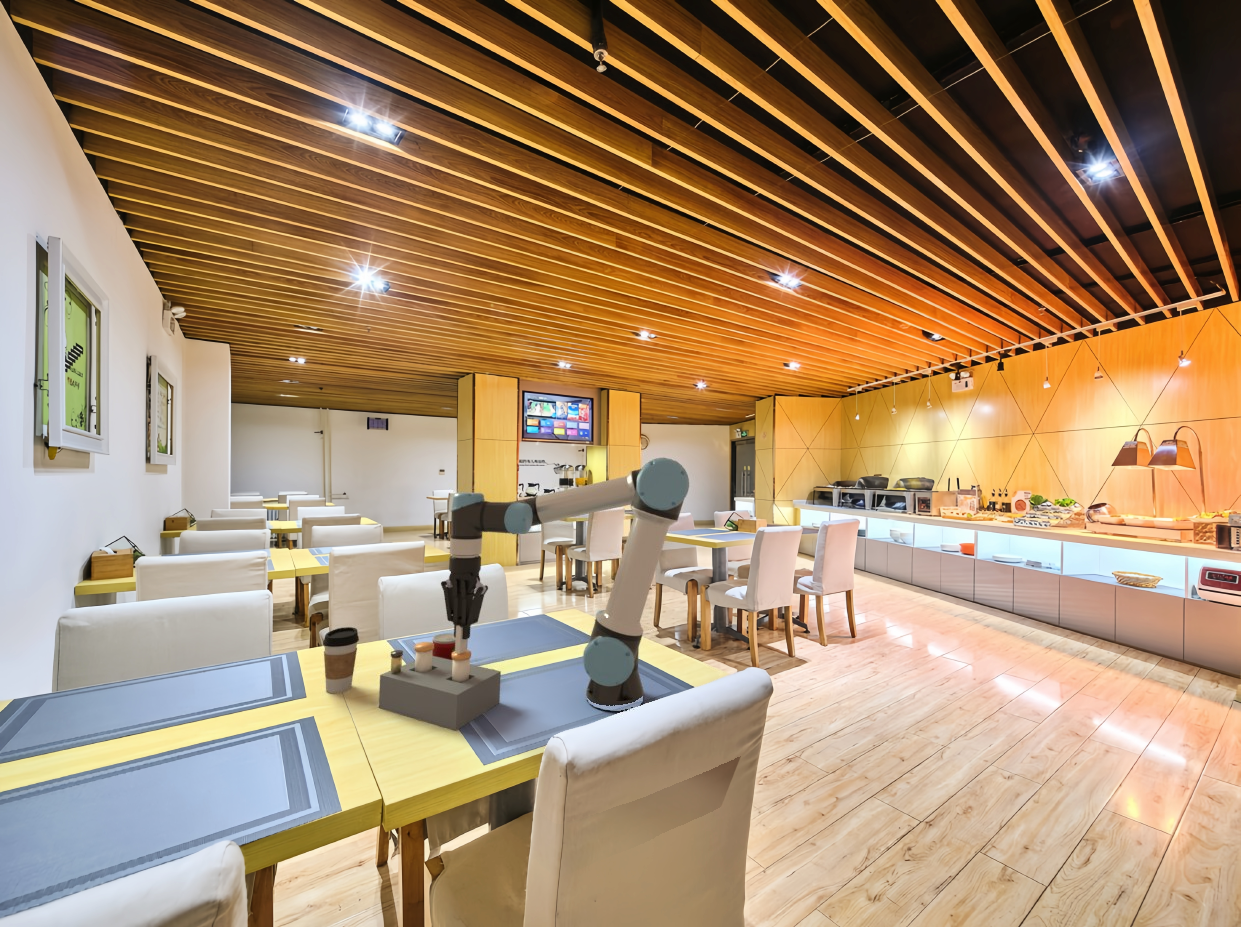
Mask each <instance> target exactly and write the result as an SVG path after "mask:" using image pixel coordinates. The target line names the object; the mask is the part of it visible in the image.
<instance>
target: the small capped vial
mask: <svg viewBox="0 0 1241 927" xmlns="http://www.w3.org/2000/svg"><path fill="white" fill-rule="evenodd" d="M403 655H404V650H402V649H396V650H393V651H391V652H390V657H391V658H390V659H391V662H390V663H391V664H390V671H391V674H399V673H401V667H402V666H403V665H402V661H403Z"/></svg>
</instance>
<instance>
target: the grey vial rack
mask: <svg viewBox="0 0 1241 927" xmlns="http://www.w3.org/2000/svg"><path fill="white" fill-rule="evenodd" d="M452 666H453V660H449V659H444V658H440V657H436V656H432V670H431V671H429V672H426V673H424V674H422V673H418V672H415V660H413V661H411V662H408V663H406V664H404V665H402V667H401V673H399V674H391V670H388V671H386V672H384V673H380V675H379V694H378V695H379V696H378V708H379V709H381V710H385V711H387V712H388V711H389V712H391V713H394V714H399V715H402V716H405V717H408V718H412V719H414V720H415V719H416V720H418V721H422V722H426V723H428V724H430V725H431V724H432V725H435V726H438V727H442V728H446V729H448V730H452V731H456V732H457V730H459V729H460V728H462V727H464V726H466V725H467V724H470V722H472V721H473V720H475V719H476V718H478V717H480V716H481V715H483V714H484V713H486V712H488V711H489V710H491V709H492V708H494V707H496V706H497V705H498V704H500V699H501V696H500V695H501V672H502V671H501V670H498V669H497V670H496V669H493V668H488V667H484V666H480V665H475V664H470V666H469V680H467V681H465V682H463V683H458V682H454V681H452Z"/></svg>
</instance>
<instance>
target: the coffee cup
mask: <svg viewBox="0 0 1241 927" xmlns="http://www.w3.org/2000/svg"><path fill="white" fill-rule="evenodd" d="M359 640H360V639H359V633H358V629H357V628H356V627H352V626H350V627H349V626H345V627H338V628H335V629H332V630H330V631H328V632H327V633H326V634H325V635H324V639H323V642H322V645H323V646H324V651H323V659H324V660H323V661H324V675H325V691H326V693H329V694H341V693H344V692H348V691H349V690H351V689H352V687H353V686H352V684H353V677H354V672H355V666H356V664H355V663H356V659H357V658H356V657H357V651H358V648H357V645H358V642H359Z"/></svg>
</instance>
